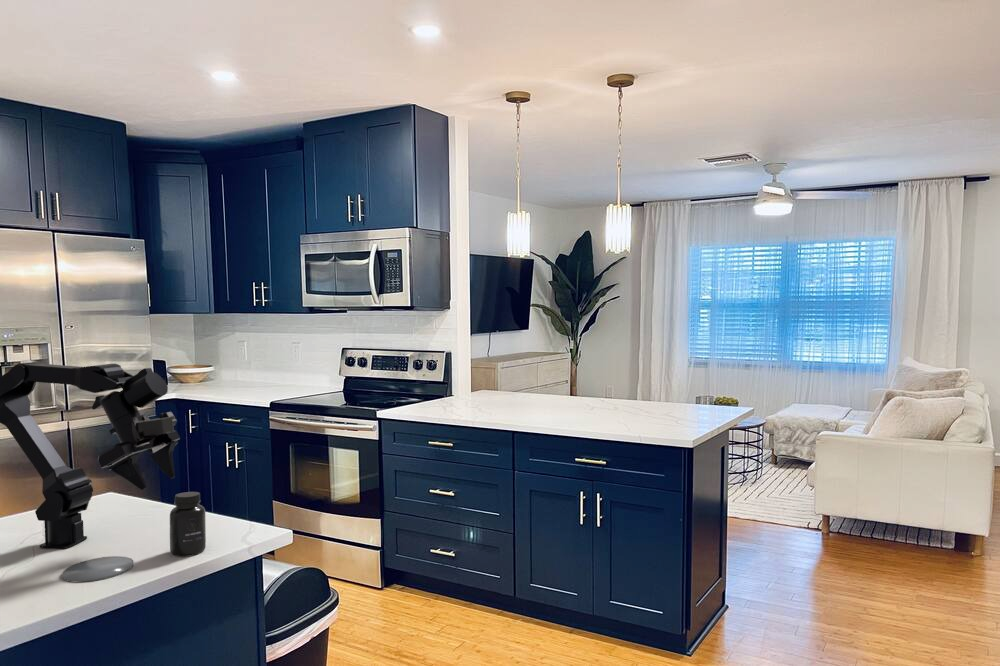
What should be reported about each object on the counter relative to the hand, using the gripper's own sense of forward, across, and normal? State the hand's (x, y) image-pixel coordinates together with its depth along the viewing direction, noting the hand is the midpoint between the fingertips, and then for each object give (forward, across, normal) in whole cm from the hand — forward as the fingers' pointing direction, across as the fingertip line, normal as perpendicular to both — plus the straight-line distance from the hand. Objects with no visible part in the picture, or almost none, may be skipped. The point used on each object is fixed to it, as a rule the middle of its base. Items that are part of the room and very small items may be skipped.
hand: (159, 483), depth 146 cm
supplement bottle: (+16, -1, 0) cm, 16 cm away
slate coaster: (+10, -13, +10) cm, 19 cm away
